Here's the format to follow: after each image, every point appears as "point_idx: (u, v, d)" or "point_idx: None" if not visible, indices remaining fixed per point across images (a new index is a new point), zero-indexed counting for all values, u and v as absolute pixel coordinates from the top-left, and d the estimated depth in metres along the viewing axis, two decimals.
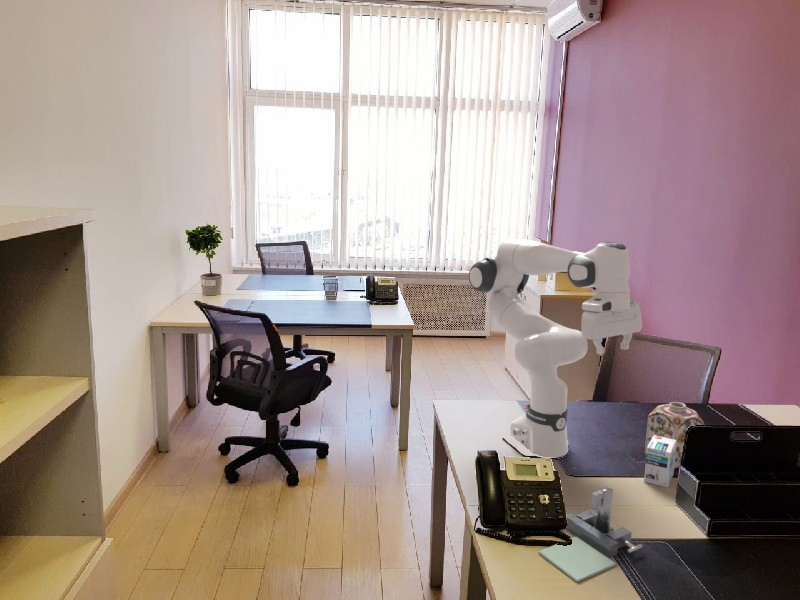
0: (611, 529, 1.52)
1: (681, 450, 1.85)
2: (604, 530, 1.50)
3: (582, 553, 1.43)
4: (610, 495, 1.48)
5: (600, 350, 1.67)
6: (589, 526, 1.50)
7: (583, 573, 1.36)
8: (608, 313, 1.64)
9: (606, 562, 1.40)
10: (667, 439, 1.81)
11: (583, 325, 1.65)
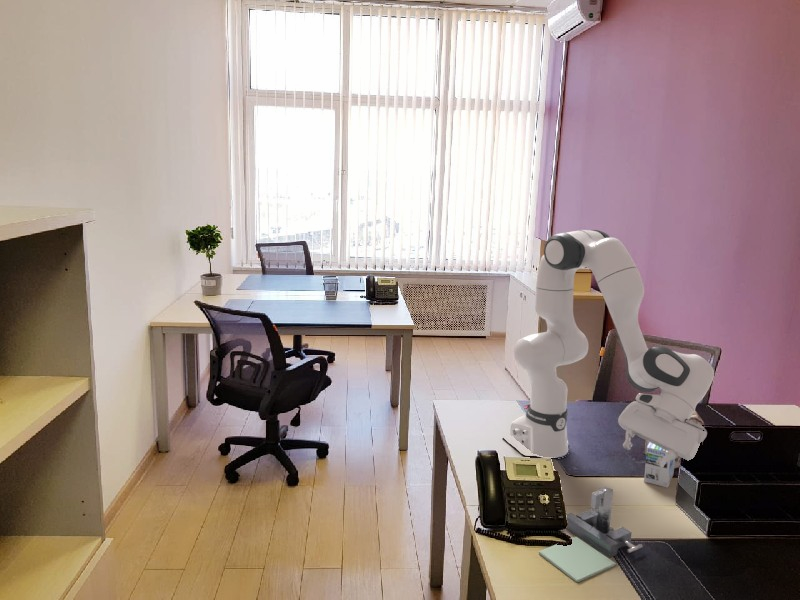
0: (611, 529, 1.52)
1: None
2: (604, 530, 1.50)
3: (582, 553, 1.43)
4: (610, 495, 1.48)
5: None
6: (589, 526, 1.50)
7: (583, 573, 1.36)
8: (645, 406, 1.58)
9: (606, 562, 1.40)
10: None
11: None
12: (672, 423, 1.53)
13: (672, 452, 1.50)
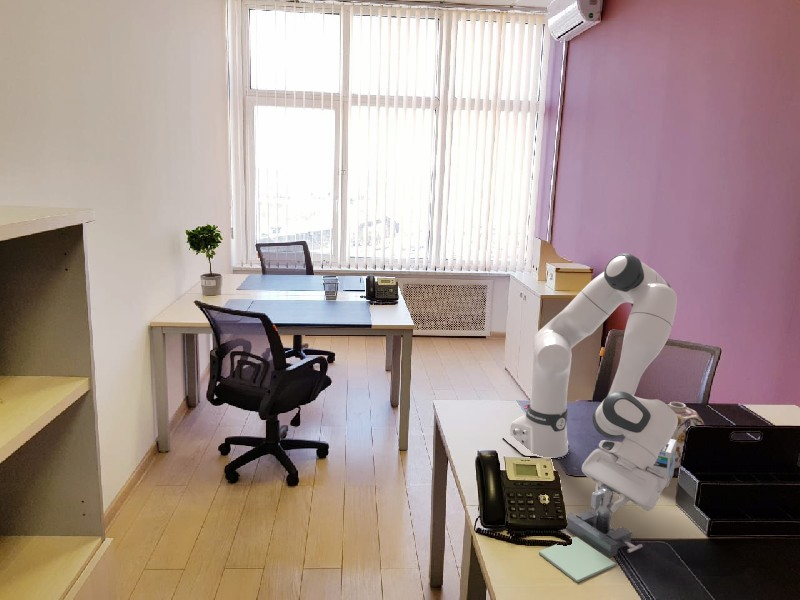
0: (611, 529, 1.52)
1: (681, 450, 1.85)
2: (604, 530, 1.50)
3: (582, 553, 1.43)
4: (610, 495, 1.48)
5: None
6: (589, 526, 1.50)
7: (583, 573, 1.36)
8: (607, 454, 1.55)
9: (606, 562, 1.40)
10: None
11: None
12: (632, 471, 1.49)
13: (623, 497, 1.47)
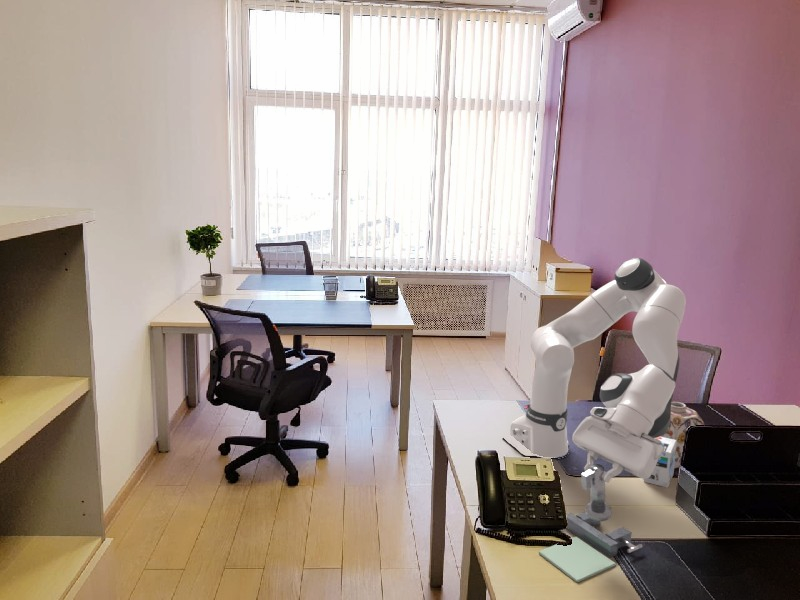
0: (607, 506, 1.42)
1: (681, 450, 1.85)
2: (599, 509, 1.40)
3: (582, 553, 1.43)
4: (601, 473, 1.37)
5: None
6: (589, 526, 1.50)
7: (583, 573, 1.36)
8: (600, 421, 1.44)
9: (606, 562, 1.40)
10: (667, 439, 1.81)
11: None
12: (627, 438, 1.38)
13: (617, 465, 1.36)
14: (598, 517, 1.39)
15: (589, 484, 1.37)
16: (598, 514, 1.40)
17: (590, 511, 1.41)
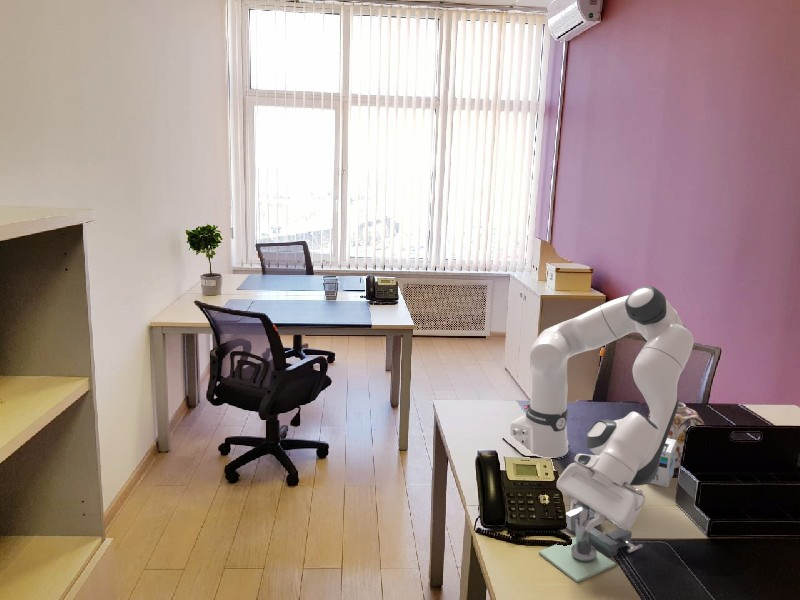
0: (593, 548, 1.42)
1: (681, 450, 1.85)
2: (584, 551, 1.40)
3: None
4: (586, 514, 1.38)
5: None
6: None
7: (583, 573, 1.36)
8: (583, 468, 1.45)
9: (606, 562, 1.40)
10: (667, 439, 1.81)
11: None
12: (609, 487, 1.39)
13: (599, 515, 1.37)
14: (583, 558, 1.39)
15: (574, 524, 1.38)
16: (583, 555, 1.40)
17: (575, 552, 1.41)
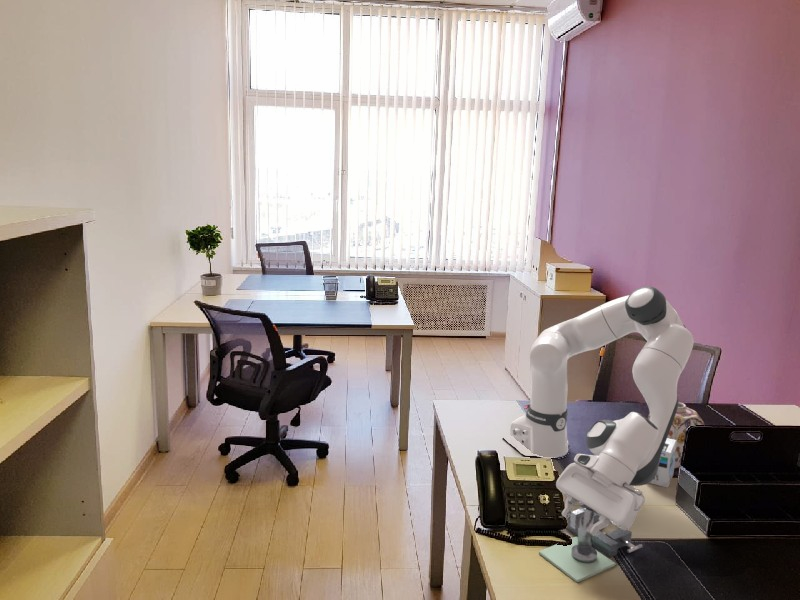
0: (593, 550, 1.42)
1: (681, 450, 1.85)
2: (585, 551, 1.40)
3: None
4: (591, 514, 1.39)
5: None
6: None
7: (583, 573, 1.36)
8: (583, 469, 1.45)
9: (606, 562, 1.40)
10: (667, 439, 1.81)
11: None
12: (608, 487, 1.39)
13: (603, 519, 1.36)
14: (584, 558, 1.39)
15: (578, 523, 1.38)
16: (584, 556, 1.40)
17: (576, 552, 1.41)
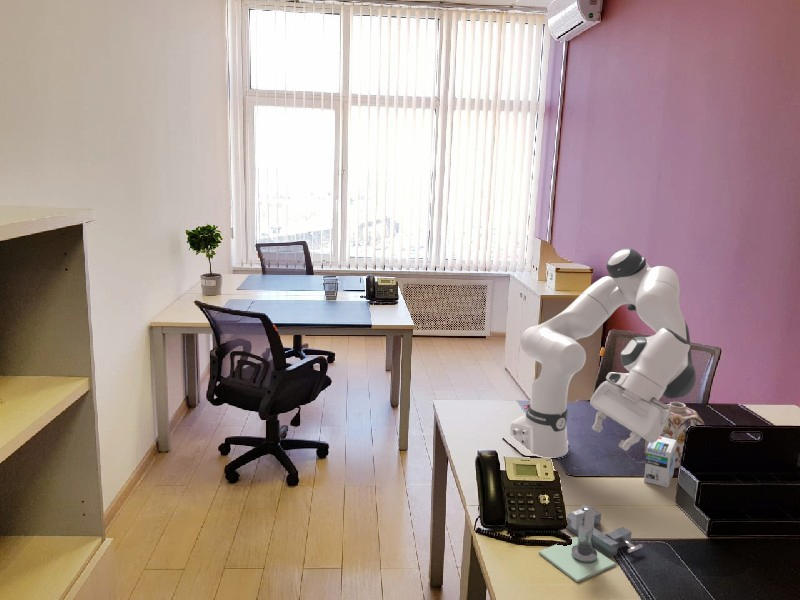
0: (593, 550, 1.42)
1: (681, 450, 1.85)
2: (585, 552, 1.40)
3: None
4: (592, 514, 1.38)
5: None
6: None
7: (583, 573, 1.36)
8: (614, 386, 1.49)
9: (606, 562, 1.40)
10: (667, 439, 1.81)
11: None
12: (637, 403, 1.43)
13: (634, 435, 1.40)
14: (584, 559, 1.39)
15: (578, 523, 1.38)
16: (584, 556, 1.40)
17: (576, 553, 1.41)
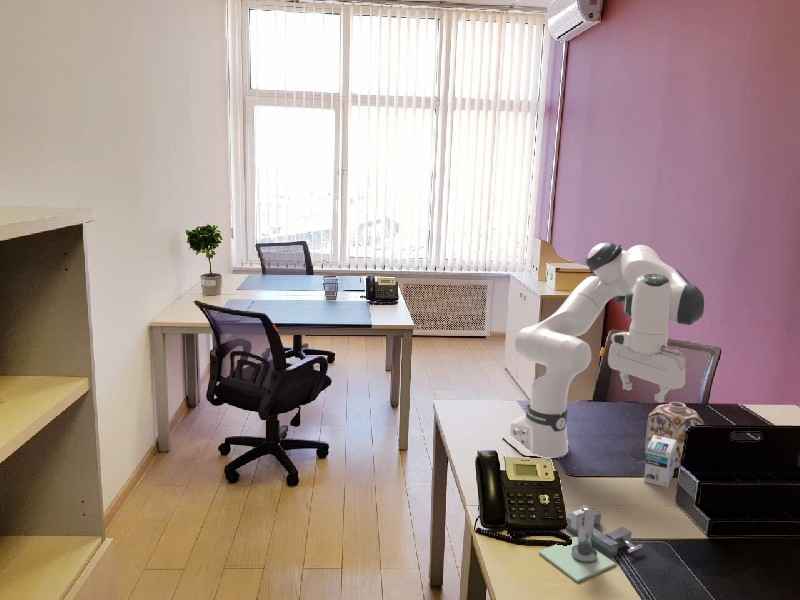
0: (593, 550, 1.42)
1: (681, 450, 1.85)
2: (585, 552, 1.40)
3: None
4: (591, 514, 1.38)
5: None
6: None
7: (583, 573, 1.36)
8: (623, 347, 1.53)
9: (606, 562, 1.40)
10: (667, 439, 1.81)
11: None
12: (651, 358, 1.48)
13: (663, 387, 1.46)
14: (584, 559, 1.39)
15: (578, 524, 1.38)
16: (584, 556, 1.40)
17: (576, 553, 1.41)
